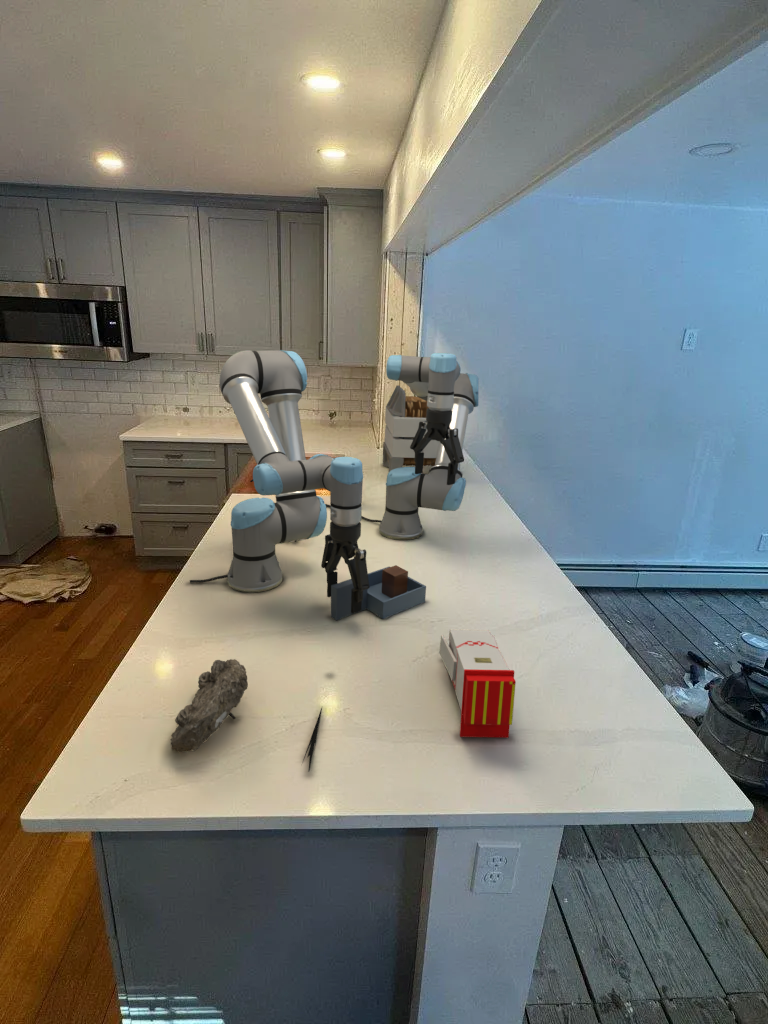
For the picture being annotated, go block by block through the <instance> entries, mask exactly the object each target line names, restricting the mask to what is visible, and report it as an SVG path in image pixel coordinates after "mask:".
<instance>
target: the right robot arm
mask: <svg viewBox="0 0 768 1024" xmlns="http://www.w3.org/2000/svg"><path fill="white" fill-rule="evenodd" d="M457 359H458V358H457V355H456V354H454V353H449V352H448V353H447V352H433V353H432V354H430V356H415V355H403V354H402V355H401V354H392V355H389V357H387V361H386V366H385V367H386V368H385V371H386V377H387V379H388V380H389V381H390V380H391V381H399V382H403V384H405V385H406V386H407V387H408V388H409V390H410V392H411V393H412V394H413V395H414V396H415V397H416V396H417V397H419V398H421V399H423V400H425V401H427V406H428V407H429V408H428V409H427V411H426V421H422V422H419V428H418V430H417V433H416V435H415V437H414V439H413V441H412V444H411V446H410V449H413V450H414V452H415V460H414V461H415V466H403V467H401V468H396V469H393V470H391V471H390V472H389V471H388V473H387V475H386V482H385V504H384V505H385V507H384V508H385V509H384V513H383V515H382V519H372V518H367V517H365V516H361V520H364V521H367V522H370V523H379V525H378V533H379V534H380V535H381V536H382V537H385V538H387V539H389V540H395V541H410V540H415V539H418V538H420V537H421V536H422V535H423V525H422V524H421V518H420V515H419V508H422V509H428V510H429V509H430V510H437V511H443V512H456V511H457V510H459V509H460V507H461V505H462V502H463V499H464V496H465V490H466V486H467V480H466V478H465V477H463V476H464V475H463V472H462V471H461V463H465V457H464V453H463V448H464V443H465V437H466V431H467V426H468V425H467V424H468V419H469V415H470V414H471V413H473V411H474V409H475V408H478V407H479V389H480V388H479V387H480V386H479V385H480V383H479V382H480V381H479V379H480V378H479V376H478V375H477V374H475V373H468V372H465V373H463V372H462V371H461V369H462V368H461V365H460V363H459V362H458V360H457ZM461 372H462V373H461ZM426 429H427V433H426V434H425V432H426ZM424 434H425V435H424ZM423 436H424V438H423ZM422 438H423V439H422ZM431 440H436V441H439V446H438V451H437V456H436V462H435V466H430V468H429V470H428V473H424V466H423V461H424V453H423V452H422V451H423V449H424V448H425V447H426V446H427V444H428V443H429V442H430V441H431ZM459 468H460V470H459ZM249 483H254V481H253V478H252V479H251V480H250V481H249ZM324 504H325V505H326V508H330V509H331V505H330V504H327V503H324Z"/></svg>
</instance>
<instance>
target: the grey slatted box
mask: <svg viewBox="0 0 768 1024" xmlns="http://www.w3.org/2000/svg"><path fill="white" fill-rule="evenodd" d="M428 408H429V407H428V406H427V401H425V400H423V399H421V398H419V397H417V396H416V395H414V396H413V395H410V396H409V395H407V393H406V390H405V389H404V388H402V387H401V385H399V384H397V385H396V386H395V388H394V389H393V392H392V393H391V395H390V398H389V400H388V402H387V403H386V405H385V413H384V414H385V416H384V424H385V425H384V426H385V427H384V440H383V441H382V442H383V443H382V463H381V464H382V465H383V467H386V468H388V473H389V472H390V471H391V470H393V469H396V468H401V467H415V461H414V460H415V452H414V450H413V449H410V446H411V444H412V441H413V439H414V437H415V435H416V433H417V430H418V428H419V422H422V421H426V411H427V409H428ZM426 433H427V429H426V432H425V434H426ZM425 434H424V435H425ZM423 438H424V436H423ZM423 438H422V439H423ZM438 446H439V441H436V440H431V441H430V442H429V443H428V444H427V446H426V447H425V448H424V449H423V451H422V452H423V453H424V461H423V467H426V466H427V467H433V466H435V462H436V456H437V451H438ZM459 470H460V471H461V467H460V468H459Z"/></svg>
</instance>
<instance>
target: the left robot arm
mask: <svg viewBox="0 0 768 1024" xmlns="http://www.w3.org/2000/svg"><path fill="white" fill-rule="evenodd" d="M307 381H308V371H307V368H306V364H305V362H304V360H303V359H302V357H301V356H300V355H299V354H298V352H295V351H292V350H283V349H279V350H274V349H273V350H249V349H248V350H241V351H238V352H235V353H234V354H232V355H231V356H230V357H229V358H228V359H227V360H226V361H225V362H224V363H223V365H222V368H221V371H220V374H219V390H220V393H221V394H222V397H223V400H224V401H225V402H226V403H228V404H229V405H230V406H231V408H232V410H233V413H234V416H235V417H236V420H237V422H238V424H239V426H240V429H241V431H242V433H243V436H244V438H245V440H246V442H247V445H248V447H249V449H250V452H251V455H252V457H253V459H254V461H255V464H256V465H255V466H254V467H253V470H252V479H253V487H254V489H255V491H256V492H257V493H258V494H259V495H260V496H275V501H274V500H273V499H271V498H268V497H253V498H252V497H251V498H248V499H244V500H242V501H240V502H238V503H237V504H235V505H234V506H233V508H232V509H231V513H230V527H231V541H232V544H231V545H232V558H231V559H232V560H231V562H230V565H229V569H228V572H227V574H224V575H218V576H215V577H210V578H205V579H190V580H189V584H202V583H209V582H214V581H218V580H222V579H227V585H228V586H229V587H230V588H231V589H233V590H236V591H238V592H242V593H261V592H266V591H269V590H273V589H275V588H277V587H278V586H280V584H282V582H283V571H282V567H281V564H280V563H281V562H280V560H279V559H278V558H277V554H276V545H280V544H285V543H290V542H294V541H296V542H297V541H302V540H309V539H312V538H315V537H318V536H320V535H322V533H324V530H325V528H326V525H327V519H328V511H327V506H326V505H325V504H326V503H325V500H324V498H323V497H321V496H318V495H317V490H321V489H325V490H327V491H328V492H329V495H330V497H329V499H330V501H329V502H330V503H329V505H331V508H330V510H329V511H330V513H329V515H330V516H329V517H330V522H329V534H326V535H325V536H324V540H325V541H324V543H325V544H324V548H323V553H322V558H321V563H320V565H321V566H320V568H321V569H324V571H325V573H326V583H327V585H326V597H327V598H331V585H334V584H337V583H338V568H337V567H338V566H339V563H340V561H341V559H343V560H344V564H345V565H347V568H348V572H349V575H350V579H352V583H353V587H354V588H353V589H352V592H351V613H352V615H354V614H353V613H355V614H357V613H360V612H362V611H361V606H362V600H363V590H366V589H369V579H368V573H369V572H368V565H367V550H366V549H361V548H359V544H358V542H359V539H360V538H361V536H362V523H361V521H362V518H361V516H362V512H363V511H362V509H363V506H362V502H363V499H362V498H363V484H364V483H363V482H364V481H363V480H364V473H363V463H362V460H360V459H359V458H356V457H352V456H337V457H332V456H330V455H328V454H327V455H326V454H323V453H316V454H314V455H313V456H311V457H310V458H308V459H307V457H306V450H305V443H304V437H303V429H302V423H301V416H300V410H299V409H300V408H299V401H300V400H301V399H302V397H303V392H304V391H305V390H307V389H306V388H307V385H308V382H307ZM264 405H265V406H266V407H267V411H268V413H267V411H266V409H265V406H264ZM359 611H360V612H359ZM356 612H357V613H356Z"/></svg>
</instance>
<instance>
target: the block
mask: <svg viewBox="0 0 768 1024" xmlns="http://www.w3.org/2000/svg"><path fill="white" fill-rule="evenodd" d="M388 567H389V568H386V567H385V568H386V569H383V568H382V569H383V570H382V593H383V594H385V595H387V596H388V597H390V598H393V597H396V596H398V595H401V594H404V593H406V592H407V582H408V577H409V571H408V570H406V569H404V568H402V567H401V566H398V565H396V564H395V565H392V566H388Z"/></svg>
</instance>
